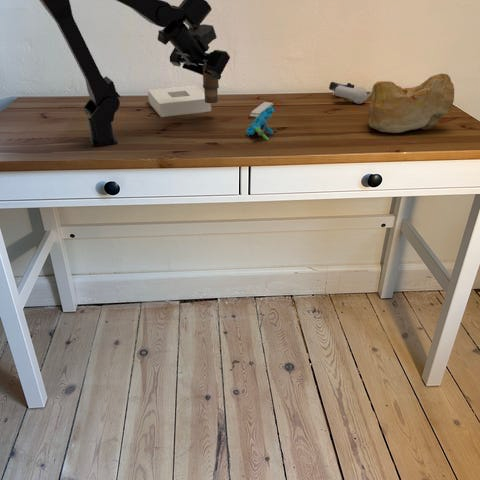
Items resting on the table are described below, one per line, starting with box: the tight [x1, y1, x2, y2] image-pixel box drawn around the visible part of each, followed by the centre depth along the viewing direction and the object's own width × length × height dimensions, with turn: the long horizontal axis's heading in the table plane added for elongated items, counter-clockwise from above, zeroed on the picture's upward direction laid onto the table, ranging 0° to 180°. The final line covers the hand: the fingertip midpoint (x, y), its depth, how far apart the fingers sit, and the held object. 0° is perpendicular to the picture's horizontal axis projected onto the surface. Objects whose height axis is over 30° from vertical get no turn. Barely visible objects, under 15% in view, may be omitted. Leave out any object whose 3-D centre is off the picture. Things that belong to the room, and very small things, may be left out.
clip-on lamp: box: [328, 81, 373, 105], centre depth 155 cm, size 12×6×18 cm
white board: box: [147, 84, 212, 118], centre depth 148 cm, size 16×16×4 cm
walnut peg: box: [202, 64, 220, 104], centre depth 134 cm, size 5×5×13 cm
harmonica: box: [247, 101, 275, 120], centre depth 145 cm, size 15×3×2 cm, turn 156°
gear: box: [245, 106, 275, 141], centre depth 127 cm, size 11×6×10 cm
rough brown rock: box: [367, 73, 455, 134], centre depth 132 cm, size 23×17×15 cm
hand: (213, 76), depth 134 cm, fingers closed on walnut peg, 4 cm apart
